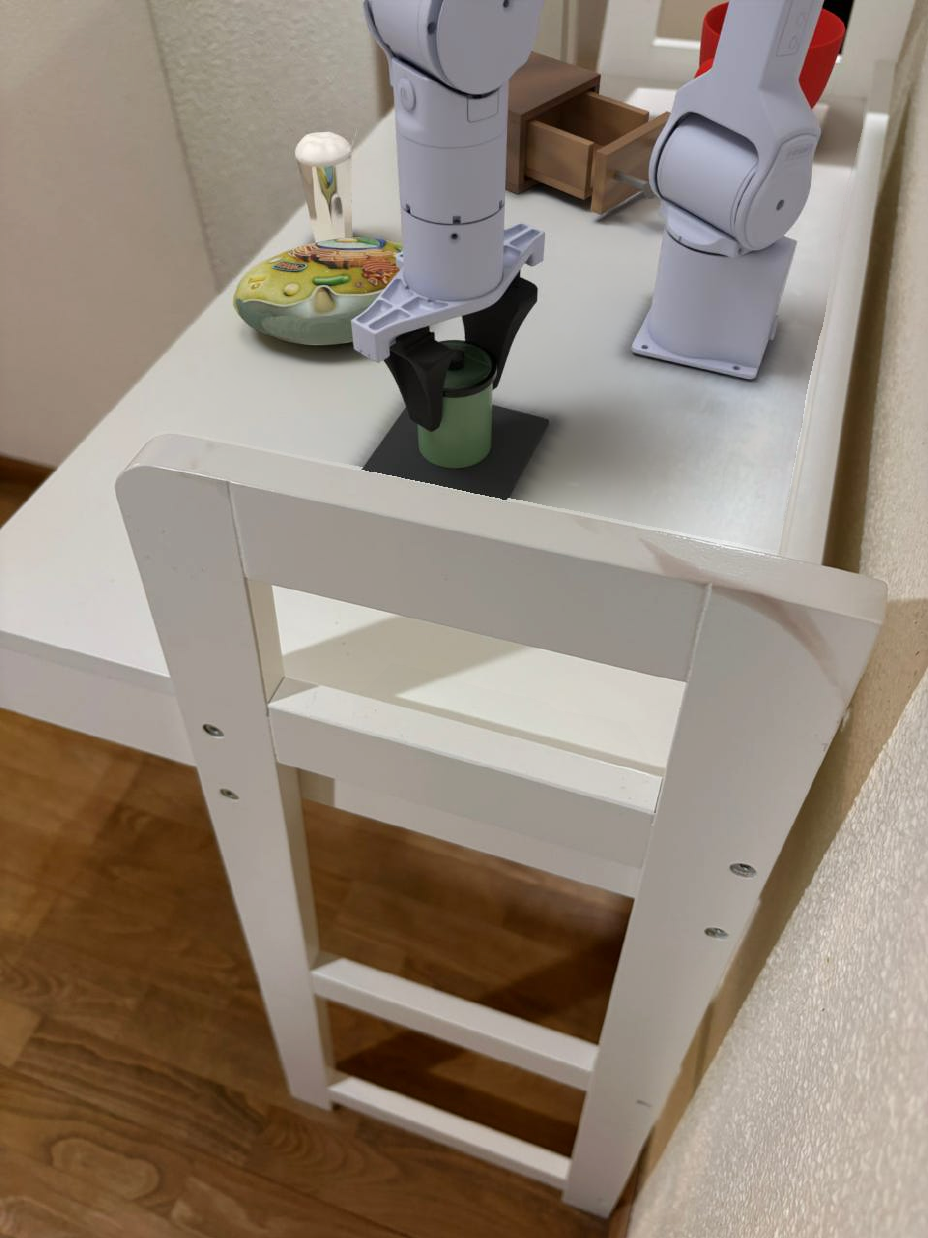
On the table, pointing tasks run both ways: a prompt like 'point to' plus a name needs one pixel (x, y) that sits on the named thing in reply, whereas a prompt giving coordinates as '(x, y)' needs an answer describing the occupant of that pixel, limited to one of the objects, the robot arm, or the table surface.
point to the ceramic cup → (816, 60)
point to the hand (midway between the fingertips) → (454, 402)
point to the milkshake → (327, 183)
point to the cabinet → (538, 105)
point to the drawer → (593, 149)
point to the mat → (488, 477)
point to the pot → (463, 409)
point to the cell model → (316, 289)
